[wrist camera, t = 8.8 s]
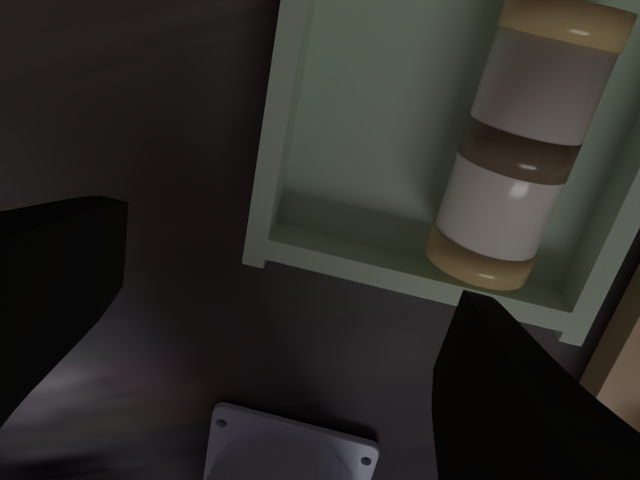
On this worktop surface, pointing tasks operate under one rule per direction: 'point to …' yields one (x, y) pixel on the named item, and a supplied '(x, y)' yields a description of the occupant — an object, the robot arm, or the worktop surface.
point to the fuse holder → (619, 359)
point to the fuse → (524, 136)
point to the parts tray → (424, 156)
